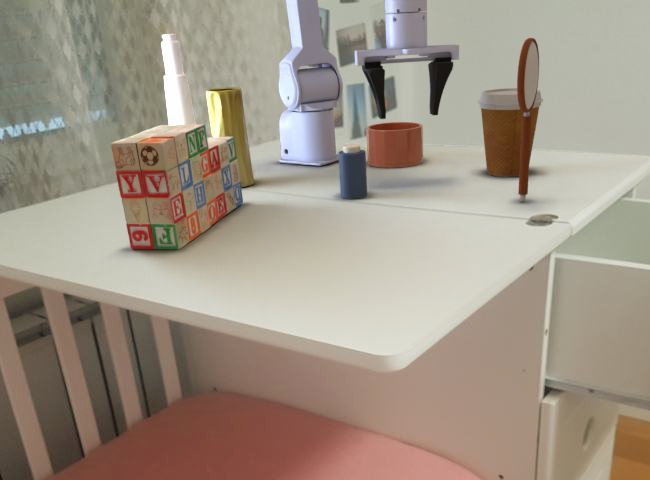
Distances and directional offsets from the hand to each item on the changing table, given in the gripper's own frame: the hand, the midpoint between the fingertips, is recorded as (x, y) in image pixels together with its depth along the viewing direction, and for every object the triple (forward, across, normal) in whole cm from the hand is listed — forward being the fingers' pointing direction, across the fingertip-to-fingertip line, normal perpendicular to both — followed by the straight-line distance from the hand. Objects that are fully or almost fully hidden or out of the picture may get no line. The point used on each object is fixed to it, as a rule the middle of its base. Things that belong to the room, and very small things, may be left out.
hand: (408, 116), depth 103 cm
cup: (+10, +1, +17) cm, 20 cm away
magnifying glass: (+10, +12, -16) cm, 22 cm away
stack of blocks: (+10, -32, -13) cm, 35 cm away
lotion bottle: (+10, -9, -5) cm, 14 cm away
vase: (+10, -26, +10) cm, 29 cm away
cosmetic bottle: (+10, -33, +18) cm, 39 cm away
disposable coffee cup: (+10, +16, +2) cm, 19 cm away
